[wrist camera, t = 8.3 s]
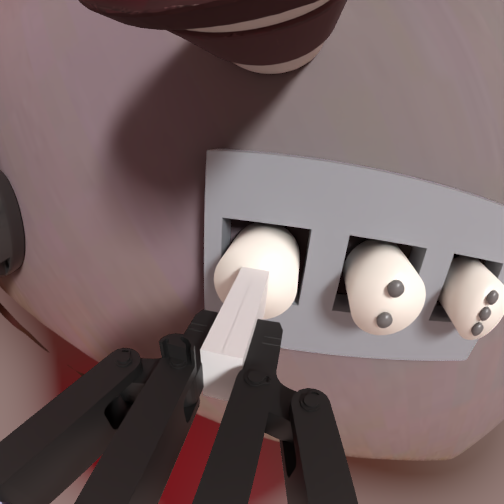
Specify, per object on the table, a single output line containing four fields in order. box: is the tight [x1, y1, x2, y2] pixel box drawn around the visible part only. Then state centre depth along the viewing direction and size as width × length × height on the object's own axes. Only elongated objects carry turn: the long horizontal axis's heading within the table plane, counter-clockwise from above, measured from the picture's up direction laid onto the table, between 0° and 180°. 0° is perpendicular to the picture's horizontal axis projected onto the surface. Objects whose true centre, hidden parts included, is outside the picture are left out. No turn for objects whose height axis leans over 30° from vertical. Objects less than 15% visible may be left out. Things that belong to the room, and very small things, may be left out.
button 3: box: [438, 255, 504, 340], centre depth 15 cm, size 5×5×5 cm
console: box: [204, 148, 504, 361], centre depth 18 cm, size 24×14×2 cm, turn 86°
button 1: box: [214, 222, 300, 320], centre depth 18 cm, size 5×5×5 cm
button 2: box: [343, 239, 426, 335], centre depth 16 cm, size 5×5×5 cm
